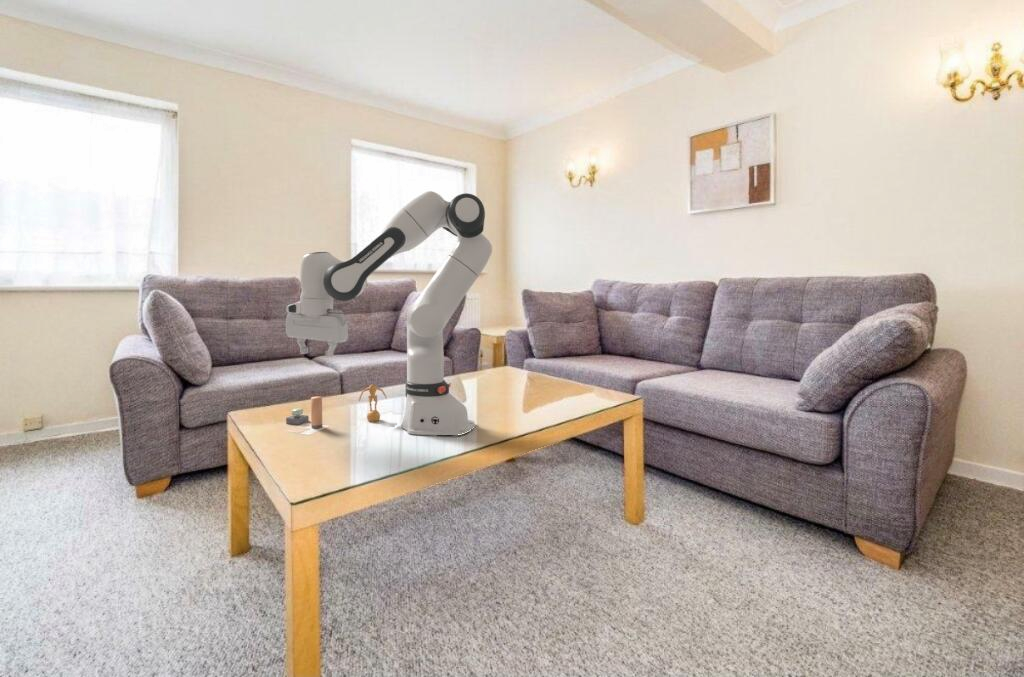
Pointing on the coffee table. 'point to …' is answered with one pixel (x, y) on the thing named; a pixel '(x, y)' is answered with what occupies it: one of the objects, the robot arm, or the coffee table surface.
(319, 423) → the cylinder
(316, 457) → the coffee table surface
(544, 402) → the coffee table surface
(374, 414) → the figurine
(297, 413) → the button
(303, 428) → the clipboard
